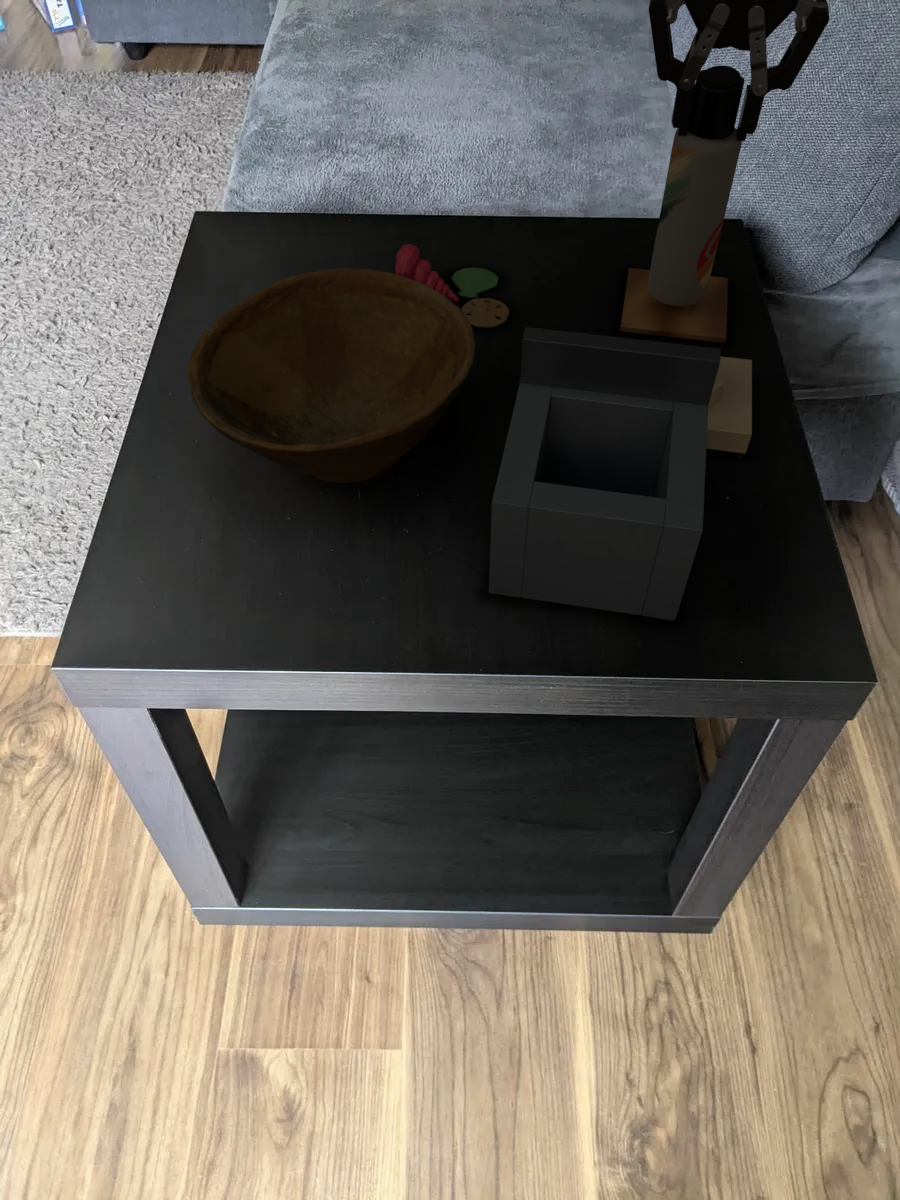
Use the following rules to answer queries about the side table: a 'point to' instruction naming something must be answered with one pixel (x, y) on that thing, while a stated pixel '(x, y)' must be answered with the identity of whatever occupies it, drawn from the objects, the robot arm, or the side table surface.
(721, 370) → the control box
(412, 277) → the toy pieces
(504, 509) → the dark grey square holder
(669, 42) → the robot arm
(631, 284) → the coaster
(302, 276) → the bowl
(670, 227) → the spray bottle
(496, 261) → the side table surface
